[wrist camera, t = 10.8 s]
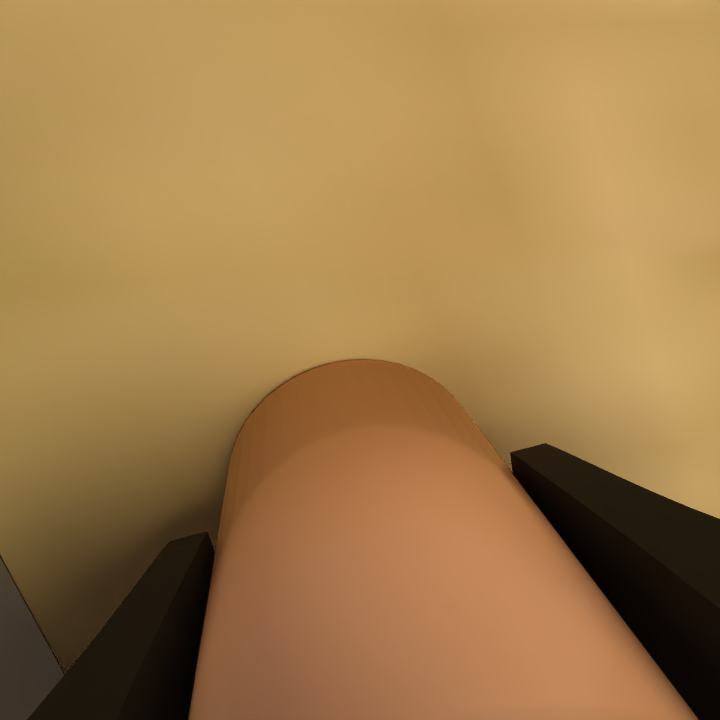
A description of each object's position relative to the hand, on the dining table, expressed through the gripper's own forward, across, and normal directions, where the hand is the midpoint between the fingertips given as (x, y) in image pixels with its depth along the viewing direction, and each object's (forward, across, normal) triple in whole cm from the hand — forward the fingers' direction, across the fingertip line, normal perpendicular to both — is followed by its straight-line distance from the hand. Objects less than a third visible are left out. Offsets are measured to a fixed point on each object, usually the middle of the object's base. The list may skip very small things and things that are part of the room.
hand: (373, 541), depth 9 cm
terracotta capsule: (+2, 0, 0) cm, 2 cm away
